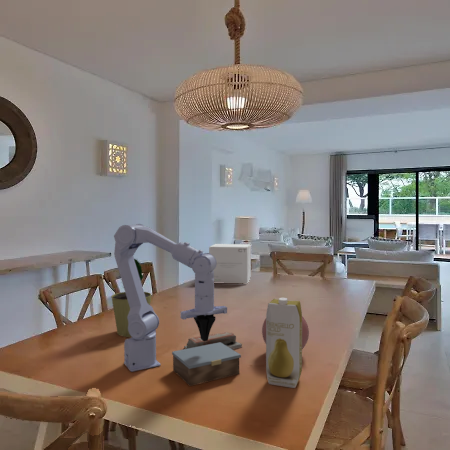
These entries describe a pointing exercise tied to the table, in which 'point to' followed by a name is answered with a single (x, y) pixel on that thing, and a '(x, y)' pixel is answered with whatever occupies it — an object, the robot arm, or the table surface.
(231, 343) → the packaged product
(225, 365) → the box
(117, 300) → the potted cactus
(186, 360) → the lid
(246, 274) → the cube
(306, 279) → the table surface
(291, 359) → the juice carton
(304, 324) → the balloon
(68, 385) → the table surface
